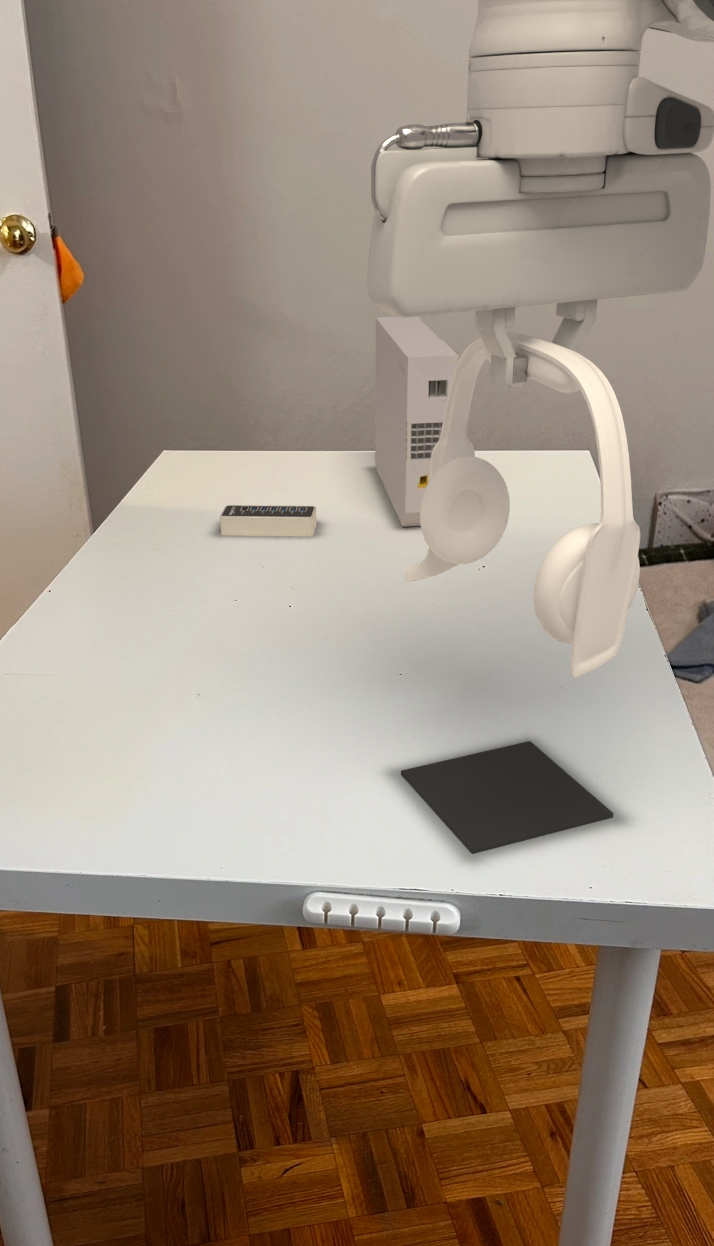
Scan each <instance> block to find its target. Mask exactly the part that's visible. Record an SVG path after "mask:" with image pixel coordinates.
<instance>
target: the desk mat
mask: <svg viewBox="0 0 714 1246" xmlns="http://www.w3.org/2000/svg"><path fill="white" fill-rule="evenodd" d="M400 775H401V777H402V778H403V779H404V780H405V781H406V782H407V783H408V784H409V786H410V787H411V788H412V789H413V790H414V791H415V792H416V793H417V794H418V795H419V797H420V798H421V799H422V800H423V802H425V803H426V805H427V806H428V807H429V809H431V810H432V811H433V812H434V814H435V815H436V816H437V817H438V818H439V819H440V820H441V821H442V822H443V824H444V825H445V826H446V827H447V828H448V829H449V830H450V831H451V833H452V834H453V835H454V836H455V837H456V839H458V841H459V842H460V843H461V844H462V845H463V846H464V847H465V848H466V849H467V850H468V852H469V853H470V854H471V855H475V854H478V853H482V852H486V851H489V850H494V849H498V848H502V847H506V846H509V845H514V844H517V843H521V842H524V841H529V840H533V839H537V838H540V837H544V836H547V835H552V834H556V833H560V832H563V831H566V830H571V829H574V828H578V827H582V826H586V825H590V824H595V823H598V822H601V821H605V820H609V819H612V818H614V812H613V811H611V810H610V808H608V807H607V806H606V805H605V804H604V803H602V802H601V801H600V800H599V798H597V797H596V796H594V795H593V794H592V793H591V792H590V791H589V790H587V789H586V788H585V787H584V786H583V785H582V784H580V782H578V781H577V780H576V779H575V778H573V776H572V775H570V774H569V773H568V772H567V771H565V770H564V769H563V768H562V767H561V766H560V765H558V764H557V762H555V761H554V760H553V759H552V758H550V756H548V755H547V754H546V753H545V752H543V751H542V750H541V749H540V748H539V747H538V746H537V745H535V744H534V743H533V742H532V741H531V740H527V741H524V742H519V743H514V744H509V745H506V746H502V747H498V748H497V747H496V748H494V749H489V750H488V749H487V750H485V751H479V752H475V753H472V754H471V753H470V754H467V755H461V756H457V757H453V758H450V759H449V758H448V759H445V760H440V761H437V762H432V763H427V764H423V765H419V766H413V767H410V768H404V769H402V770H400Z"/></svg>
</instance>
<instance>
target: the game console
mask: <svg viewBox="0 0 714 1246" xmlns="http://www.w3.org/2000/svg"><path fill="white" fill-rule="evenodd" d="M459 359H460V356H459V354H458V353H456V352H455V350H453V349H452V347H450V346H449V344H447V343H446V341H445V340H444V339H441V338H440V337H438V335H437V334H436V333H435V332H433V330H431V328H429V327H428V325H426V324H425V322H423V321H422V319H421V316H417V317H406V318H404V317H397V316H380V317H375V417H374V418H375V419H374V420H375V423H374V424H375V425H374V427H375V428H374V429H375V433H374V435H375V439H374V440H375V441H374V442H375V444H374V447H375V448H374V449H375V450H374V463H375V464H374V467H375V468H374V469H375V470H376V473H377V474H378V477H379V479H380V481H381V484H382V485H383V489H384V490H385V493H386V494H387V497H388V499H389V501H390V504H391V506H392V508H393V510H394V512H395V514H396V516H397V518H398V520H399V523H400V525H401V527H402V528H404V527H407V528H408V527H421V525H420V507H421V501H422V497H423V494H424V491H425V489H426V487H427V485H428V483H429V481H430V461H431V454H432V450H433V448H434V446H435V445H436V444H437V443H438V441H439V438H440V434H441V429H442V424H443V418H444V413H445V407H446V402H447V397H448V393H449V389H450V385H451V381H452V378H453V374H454V371H455V368H456V366H457V363H458V361H459Z"/></svg>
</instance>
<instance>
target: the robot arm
mask: <svg viewBox="0 0 714 1246" xmlns="http://www.w3.org/2000/svg"><path fill="white" fill-rule="evenodd" d="M648 29H650V30H655V31H660V32H665V33H671V34H674V35H677V36H679V37H681V38H684V39H687V40H690V41H694V42H700V43H714V0H478V4H477V15H476V22H475V26H474V31H473V34H472V37H471V40H470V45H469V50H468V64H467V65H468V66H467V67H468V70H467V94H466V95H467V98H466V99H467V100H466V119H465V122H449V123H442V124H436V125H430V126H429V125H423V124H417V123H415V124H413V123H412V124H405V125H402V126H399V127H398V128H397V129H396V131H395V134H392V135H390V136H388V137H387V138H386V139H384V141H382V142H381V143H380V144H379V146H378V148H377V149H376V150H375V153H374V154H373V156H372V159H371V165H370V197H371V202H372V206H373V208H374V212H373V217H372V225H371V231H370V240H369V250H368V261H367V278H366V280H367V281H366V287H367V288H366V289H367V294H368V296H369V299H371V301H372V303H373V304H374V305H375V306H376V308H377V309H378V310H379V311H380V312H383V313H385V314H387V315H390V316H393V317H404V318H406V317H425V316H427V317H429V316H436V315H438V316H439V315H446V314H460V313H469V312H474V313H475V314H474V326H475V328H476V330H477V332H478V334H479V336H480V339H481V338H482V340H483V342H484V344H485V346H486V348H487V350H488V352H489V354H491V363H490V372H489V373H490V374H489V379H490V383H491V386H493V387H494V388H497V389H500V390H505V389H506V390H507V389H514V388H521V387H525V386H526V384H527V381H528V378H527V375H526V374H525V372H526V370H527V368H528V357H527V356H524V355H519V354H518V353H515V352H514V350H513V348H512V345H511V343H510V340H509V338H508V336H507V333H506V332H507V331H506V329H512V328H514V327H515V318H516V308H520V307H522V308H523V307H531V306H544V305H553V304H556V307H555V309H556V310H555V315H556V316H557V317H560V318H562V320H561V323H560V324H559V327H558V329H557V330H556V333H555V335H554V337H553V339H552V341H551V343H554V344H557V345H560V346H562V347H565V348H567V349H570V350H572V351H574V352H578V350H579V349H580V347H581V345H582V344H583V342H584V340H585V339H586V337H587V335H588V333H589V332H590V330H591V329H592V327H593V325H594V324H595V322H596V320H597V319H596V318H597V309H598V300H605V299H606V300H607V299H617V298H627V297H636V296H646V295H660V294H669V293H679V292H686V291H688V290H689V289H690V288H691V286H692V285H693V284H694V282H695V280H696V279H697V277H698V276H699V275H700V273H701V271H702V269H703V265H704V262H705V261H704V260H705V256H706V249H707V243H708V233H709V226H710V225H709V223H710V213H711V212H710V210H711V197H712V196H711V193H712V192H711V191H712V188H711V187H712V186H711V176H710V171H709V168H708V166H707V164H706V162H705V161H704V160H703V158H702V157H701V156H700V155H698V154H695V153H700V152H703V151H705V150H707V149H708V148H709V147H710V146H711V144H712V142H713V140H714V109H712V108H711V107H710V106H709V105H706V104H705V103H702V102H700V101H697V100H695V99H692V98H690V97H688V96H685V95H683V94H681V93H678V92H677V91H673V90H671V89H669V88H667V87H665V86H663V85H660V84H658V83H657V82H654V81H652V80H651V79H649V78H646V77H644V76H639V75H640V64H641V51H642V44H643V39H644V38H643V37H644V35H645V33H646V31H648ZM395 144H396V146H397V147H398V148H400V149H390V148H391V146H393V145H395ZM429 147H430V148H429ZM389 149H390V150H389Z"/></svg>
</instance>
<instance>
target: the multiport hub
mask: <svg viewBox="0 0 714 1246" xmlns="http://www.w3.org/2000/svg"><path fill="white" fill-rule="evenodd" d="M219 525H220V535H221V536H248V537H249V536H250V537H251V536H254V537H255V536H257V537H313V536H314V535H315V531H316V528H317V525H318V523H317V507H316V506H314V505H250V504H249V505H247V504H245V505H239V504H238V505H234V504H229V505H226V506H224V508H223V510H222V511H221V513H220V515H219Z"/></svg>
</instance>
